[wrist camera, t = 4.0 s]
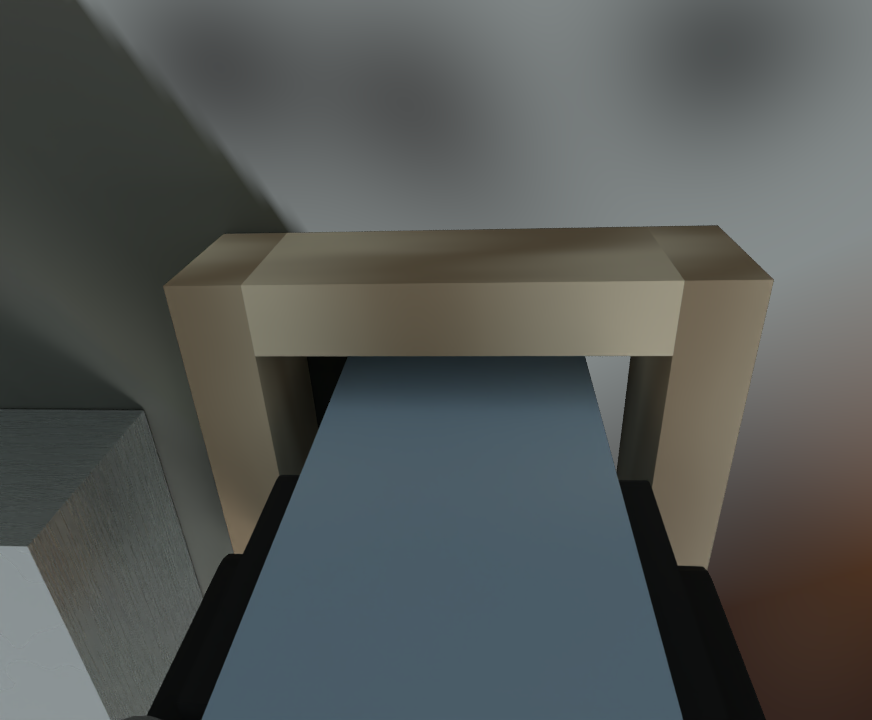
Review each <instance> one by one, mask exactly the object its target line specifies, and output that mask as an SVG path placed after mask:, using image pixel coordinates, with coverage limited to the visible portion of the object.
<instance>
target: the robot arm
mask: <svg viewBox="0 0 872 720" xmlns="http://www.w3.org/2000/svg"><path fill="white" fill-rule="evenodd" d="M299 477H300V475H280V476H278V478H277V480H276V481H275V484H274V486H273V488H272V490H271V493H270V495H269V497H268V499H267V501H266V504H265V506H264V508H263V510H262V513H261V515H260V517H259V519H258V521H257V524H256V526H255V528H254V530H253V533H252V535H251V537H250V539H249V541H248V544H247V546H246V548H245V550H244V552H243V554H228V555H227V556H226V557H224V558H223V560H222V562H221V563H220V565H219V567H218V569H217V571H216V573H215V575H214V577H213V579H212V581H211V583H210V585H209V587H208V589H207V591H206V593H205V596H204V598H203V600H202V602H201V604H200V606H199V608H198V610H197V612H196V614H195V616H194V618H193V620H192V622H191V624H190V627H189V629H188V631H187V633H186V635H185V637H184V639H183V641H182V643H181V645H180V647H179V649H178V651H177V653H176V656H175V658H174V660H173V662H172V664H171V666H170V668H169V670H168V672H167V674H166V676H165V678H164V680H163V682H162V684H161V687H160V689H159V691H158V693H157V695H156V697H155V699H154V701H153V703H152V705H151V707H150V709H149V711H148V713H147V715H146V716H132V717H128V718H125V719H122V720H202V717H203V715H204V712H205V710H206V707H207V705H208V702H209V700H210V697H211V695H212V692H213V690H214V687H215V685H216V682H217V680H218V677H219V675H220V672H221V670H222V668H223V665H224V663H225V660H226V658H227V655H228V653H229V650H230V648H231V645H232V643H233V640H234V638H235V635H236V633H237V630H238V628H239V625H240V623H241V620H242V618H243V615H244V613H245V611H246V608H247V606H248V603H249V601H250V598H251V596H252V593H253V591H254V588H255V586H256V583H257V581H258V578H259V576H260V573H261V571H262V568H263V566H264V563H265V561H266V558H267V556H268V553H269V551H270V549H271V546H272V544H273V541H274V539H275V536H276V534H277V531H278V529H279V526H280V524H281V521H282V519H283V516H284V514H285V511H286V509H287V506H288V504H289V501H290V499H291V496H292V494H293V492H294V489H295V487H296V484H297V482H298V479H299ZM618 481H619V484H620V488H621V492H622V495H623V499H624V503H625V507H626V510H627V514H628V518H629V521H630V525H631V529H632V533H633V536H634V540H635V544H636V547H637V551H638V555H639V558H640V562H641V566H642V570H643V573H644V577H645V581H646V584H647V588H648V592H649V595H650V599H651V603H652V607H653V610H654V614H655V618H656V621H657V625H658V629H659V633H660V636H661V640H662V644H663V647H664V651H665V655H666V658H667V662H668V666H669V670H670V673H671V677H672V681H673V684H674V688H675V692H676V695H677V699H678V703H679V707H680V710H681V714H682V718H683V720H766V719H765V717H764V714H763V711H762V709H761V706H760V704H759V701H758V698H757V696H756V693H755V690H754V688H753V685H752V683H751V680H750V678H749V675H748V672H747V670H746V667H745V665H744V662H743V659H742V657H741V654H740V651H739V649H738V646H737V644H736V641H735V639H734V636H733V633H732V631H731V628H730V626H729V623H728V620H727V618H726V615H725V612H724V610H723V608H722V605H721V602H720V599H719V597H718V594H717V592H716V589H715V586H714V584H713V581H712V579H711V577H710V575H709V573H708V571H707V570H706V569H705V568H704V567H703V566H678V565H677V562H676V559H675V556H674V553H673V550H672V547H671V544H670V541H669V538H668V535H667V532H666V529H665V526H664V523H663V520H662V517H661V514H660V511H659V508H658V505H657V502H656V499H655V496H654V493H653V490H652V487H651V485H650V482H649V481H647V480H618Z"/></svg>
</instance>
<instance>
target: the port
mask: <svg viewBox="0 0 872 720" xmlns="http://www.w3.org/2000/svg"><path fill="white" fill-rule="evenodd" d="M202 600H203V597H202V594H201V591H200V588H199V584H198V581H197V578H196V575H195V572H194V568H193V565H192V562H191V559H190V556H189V552H188V549H187V546H186V543H185V540H184V537H183V533H182V530H181V527H180V524H179V521H178V517H177V514H176V511H175V508H174V505H173V501H172V498H171V495H170V492H169V489H168V486H167V482H166V479H165V476H164V473H163V470H162V466H161V463H160V460H159V457H158V454H157V450H156V447H155V444H154V441H153V438H152V434H151V431H150V428H149V425H148V422H147V419H146V415H145V412H144V410H33V409H0V720H122V719H125V718H128V717H132V716H146V715H147V713H148V711H149V709H150V707H151V705H152V703H153V701H154V699H155V697H156V695H157V693H158V691H159V689H160V687H161V684H162V682H163V680H164V678H165V676H166V674H167V672H168V670H169V668H170V666H171V664H172V662H173V660H174V658H175V656H176V653H177V651H178V649H179V647H180V645H181V643H182V641H183V639H184V637H185V635H186V633H187V631H188V629H189V627H190V624H191V622H192V620H193V618H194V616H195V614H196V612H197V610H198V608H199V606H200V604H201V602H202Z"/></svg>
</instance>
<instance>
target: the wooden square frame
mask: <svg viewBox="0 0 872 720" xmlns="http://www.w3.org/2000/svg"><path fill="white" fill-rule="evenodd" d="M773 282H774V279H773V278H771V277H770V276H769V275H768V274H767V273H766V272H765V271H764V270H763V269H762V268H761V267H760V266H759V265H758V264H757V263H756V262H755V261H754V260H753V259H752V258H751V257H750V256H749V255H748V254H747V253H746V252H745V251H744V250H743V249H741V247H740V246H738V245H737V244H736V243H735V242H734V241H733V240H732V239H731V238H730V237H729V236H728V235H727V234H726V233H725V232H724V231H723V230H722V229H721V228H720V227H719V226H718V225H717V226H715V225H714V226H713V225H712V226H657V227H655V226H654V227H596V228H540V229H539V228H538V229H483V230H423V231H369V232H368V231H367V232H366V231H365V232H314V233H313V232H308V233H250V234H223V235H222V236H221V237H220V238H218V239H217V240H216V241H215V242H214V243H213V244H211V245H210V246H209V247H208V248H207V249H206V250H204V251H203V252H202V253H201V254H200V255H199V256H197V257H196V258H195V259H194V260H193V261H192V262H190V263H189V264H188V265H187V266H186V267H185V268H184V269H182V270H181V271H180V272H179V273H178V274H177V275H175V276H174V277H173V278H172V279H171V280H170V281H168V282H167V283H166V284H165V285H164V286H163V288H164V292H165V295H166V299H167V303H168V307H169V310H170V314H171V318H172V322H173V325H174V329H175V333H176V337H177V340H178V344H179V348H180V352H181V355H182V359H183V363H184V367H185V370H186V374H187V378H188V382H189V385H190V389H191V393H192V397H193V401H194V404H195V408H196V412H197V416H198V419H199V423H200V427H201V431H202V434H203V438H204V442H205V446H206V449H207V453H208V457H209V461H210V464H211V468H212V472H213V476H214V479H215V483H216V487H217V491H218V494H219V498H220V502H221V506H222V509H223V513H224V517H225V521H226V524H227V528H228V532H229V536H230V539H231V543H232V547H233V551H234V554H243V552H244V550H245V548H246V546H247V544H248V541H249V539H250V537H251V535H252V533H253V530H254V528H255V526H256V524H257V521H258V519H259V517H260V515H261V513H262V510H263V508H264V506H265V504H266V501H267V499H268V497H269V495H270V493H271V490H272V488H273V486H274V484H275V481H276V480H277V478H278V476H280V475H300V474H301V472H302V469H303V467H304V464H305V462H306V459H307V457H308V454H309V452H310V449H311V447H312V444H313V442H314V439H315V437H316V434H317V432H318V424H317V417H316V411H315V405H314V398H313V392H312V386H311V379H310V373H309V367H308V360H307V356H631V358H630V366H629V374H628V383H627V391H626V399H625V407H624V415H623V424H622V433H621V440H620V448H619V457H618V465H617V477H618V480H647V481H649V482H650V485H651V487H652V490H653V493H654V496H655V499H656V502H657V505H658V508H659V511H660V514H661V517H662V520H663V523H664V526H665V529H666V532H667V535H668V538H669V541H670V544H671V547H672V550H673V553H674V556H675V559H676V562H677V565H678V566H703V567H704V568H705V569H706V570H707V568H708V564H709V560H710V555H711V551H712V547H713V542H714V538H715V534H716V530H717V525H718V520H719V517H720V512H721V508H722V503H723V499H724V495H725V490H726V486H727V482H728V477H729V473H730V469H731V464H732V460H733V456H734V451H735V447H736V442H737V438H738V434H739V429H740V425H741V421H742V417H743V412H744V408H745V404H746V399H747V395H748V390H749V386H750V382H751V377H752V373H753V369H754V364H755V360H756V356H757V351H758V347H759V342H760V338H761V334H762V329H763V325H764V321H765V316H766V312H767V308H768V303H769V299H770V295H771V290H772V286H773Z"/></svg>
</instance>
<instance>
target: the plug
mask: <svg viewBox="0 0 872 720" xmlns="http://www.w3.org/2000/svg"><path fill="white" fill-rule="evenodd" d="M202 720H683V718H682V714H681V710H680V707H679V703H678V699H677V695H676V692H675V688H674V684H673V681H672V677H671V673H670V670H669V666H668V662H667V658H666V655H665V651H664V647H663V644H662V640H661V636H660V633H659V629H658V625H657V621H656V618H655V614H654V610H653V607H652V603H651V599H650V595H649V592H648V588H647V584H646V581H645V577H644V573H643V570H642V566H641V562H640V558H639V555H638V551H637V547H636V544H635V540H634V536H633V533H632V529H631V525H630V521H629V518H628V514H627V510H626V507H625V503H624V499H623V495H622V492H621V488H620V484H619V481H618V477H617V473H616V470H615V466H614V462H613V458H612V455H611V451H610V447H609V444H608V440H607V437H606V433H605V429H604V425H603V421H602V418H601V414H600V410H599V407H598V403H597V399H596V395H595V392H594V388H593V385H592V381H591V377H590V373H589V370H588V366H587V362H586V358H585V356H348V358H347V360H346V363H345V365H344V368H343V370H342V373H341V375H340V377H339V380H338V382H337V385H336V387H335V390H334V392H333V395H332V397H331V400H330V402H329V405H328V407H327V410H326V412H325V415H324V417H323V420H322V422H321V425H320V427H319V430H318V432H317V434H316V437H315V439H314V442H313V444H312V447H311V449H310V452H309V454H308V457H307V459H306V462H305V464H304V467H303V469H302V472H301V474H300V477H299V479H298V482H297V484H296V487H295V489H294V492H293V494H292V496H291V499H290V501H289V504H288V506H287V509H286V511H285V514H284V516H283V519H282V521H281V524H280V526H279V529H278V531H277V534H276V536H275V539H274V541H273V544H272V546H271V549H270V551H269V553H268V556H267V558H266V561H265V563H264V566H263V568H262V571H261V573H260V576H259V578H258V581H257V583H256V586H255V588H254V591H253V593H252V596H251V598H250V601H249V603H248V606H247V608H246V611H245V613H244V615H243V618H242V620H241V623H240V625H239V628H238V630H237V633H236V635H235V638H234V640H233V643H232V645H231V648H230V650H229V653H228V655H227V658H226V660H225V663H224V665H223V668H222V670H221V672H220V675H219V677H218V680H217V682H216V685H215V687H214V690H213V692H212V695H211V697H210V700H209V702H208V705H207V707H206V710H205V712H204V715H203V717H202Z"/></svg>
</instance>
